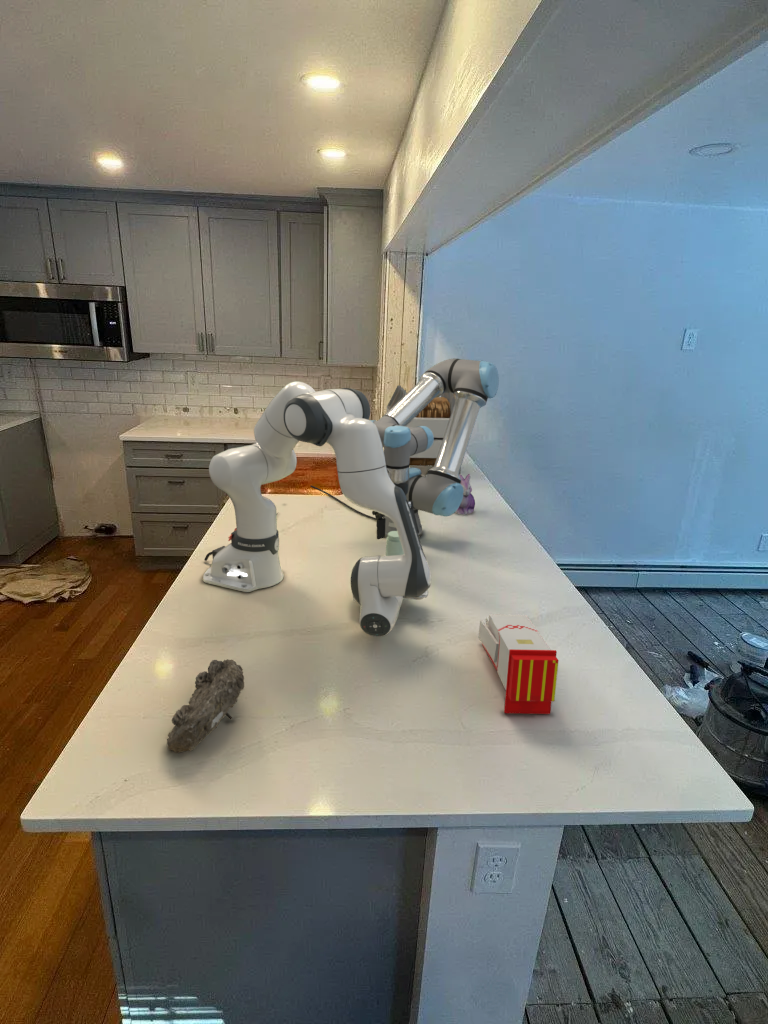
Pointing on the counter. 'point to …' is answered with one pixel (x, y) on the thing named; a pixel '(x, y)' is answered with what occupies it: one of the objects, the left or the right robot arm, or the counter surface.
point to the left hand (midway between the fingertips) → (394, 570)
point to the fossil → (206, 705)
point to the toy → (521, 662)
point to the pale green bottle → (393, 544)
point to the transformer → (429, 424)
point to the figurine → (466, 497)
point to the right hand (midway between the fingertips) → (393, 545)
